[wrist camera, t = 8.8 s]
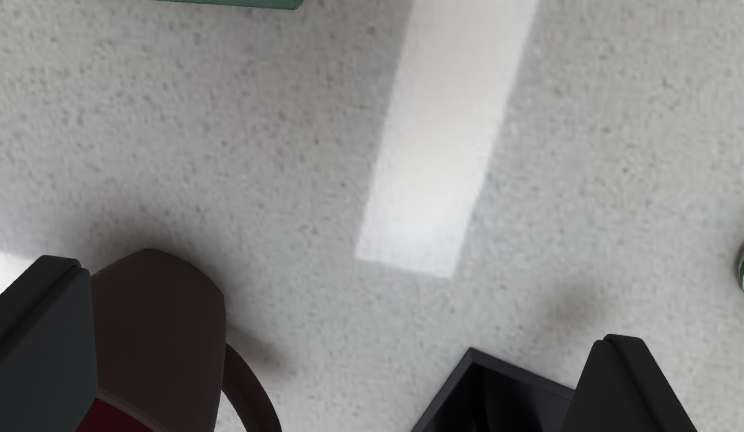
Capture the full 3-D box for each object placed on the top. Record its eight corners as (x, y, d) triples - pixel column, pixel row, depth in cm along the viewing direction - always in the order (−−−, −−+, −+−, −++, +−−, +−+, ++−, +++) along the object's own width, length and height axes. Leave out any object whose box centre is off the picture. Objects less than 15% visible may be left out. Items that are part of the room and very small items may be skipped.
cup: (126, 184, 31) (-16, 328, 20) (344, 323, 34) (323, 509, 23) (47, 309, 34) (-110, 487, 24) (251, 423, 38) (195, 624, 27)
